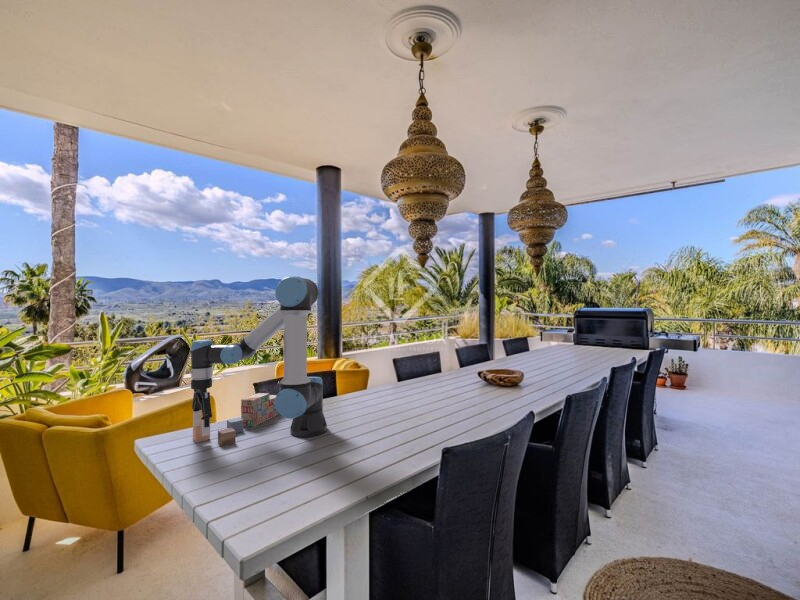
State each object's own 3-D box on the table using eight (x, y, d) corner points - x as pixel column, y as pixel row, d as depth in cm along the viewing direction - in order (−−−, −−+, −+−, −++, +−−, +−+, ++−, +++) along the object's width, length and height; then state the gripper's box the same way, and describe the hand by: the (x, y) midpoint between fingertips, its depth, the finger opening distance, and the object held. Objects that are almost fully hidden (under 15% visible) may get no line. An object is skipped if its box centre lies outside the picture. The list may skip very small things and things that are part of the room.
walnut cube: (235, 443, 140) (235, 430, 140) (221, 446, 137) (221, 433, 137) (231, 440, 144) (231, 427, 144) (217, 443, 140) (217, 430, 140)
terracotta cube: (209, 439, 145) (210, 426, 145) (196, 442, 141) (196, 429, 142) (206, 436, 148) (206, 424, 149) (192, 439, 145) (192, 426, 145)
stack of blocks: (270, 413, 181) (270, 388, 182) (281, 413, 180) (281, 389, 180) (240, 426, 161) (240, 398, 161) (252, 427, 159) (252, 399, 159)
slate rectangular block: (243, 431, 154) (243, 420, 154) (230, 434, 150) (230, 422, 150) (239, 429, 157) (239, 417, 157) (227, 431, 154) (227, 419, 154)
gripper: (183, 375, 152) (183, 425, 152) (199, 383, 134) (199, 441, 133) (203, 373, 157) (203, 422, 157) (221, 381, 139) (220, 436, 138)
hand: (201, 431), depth 145 cm, fingers open, 13 cm apart
